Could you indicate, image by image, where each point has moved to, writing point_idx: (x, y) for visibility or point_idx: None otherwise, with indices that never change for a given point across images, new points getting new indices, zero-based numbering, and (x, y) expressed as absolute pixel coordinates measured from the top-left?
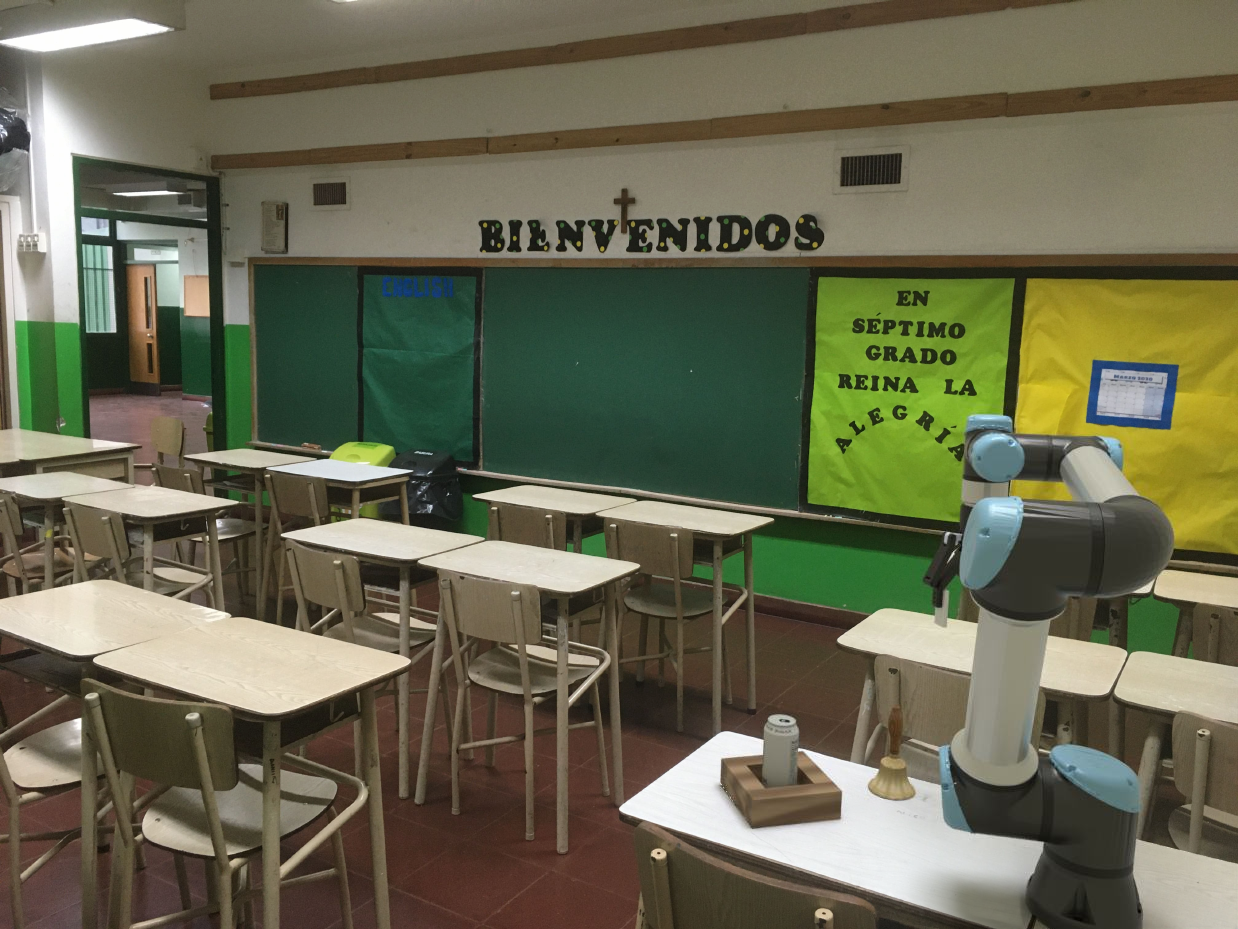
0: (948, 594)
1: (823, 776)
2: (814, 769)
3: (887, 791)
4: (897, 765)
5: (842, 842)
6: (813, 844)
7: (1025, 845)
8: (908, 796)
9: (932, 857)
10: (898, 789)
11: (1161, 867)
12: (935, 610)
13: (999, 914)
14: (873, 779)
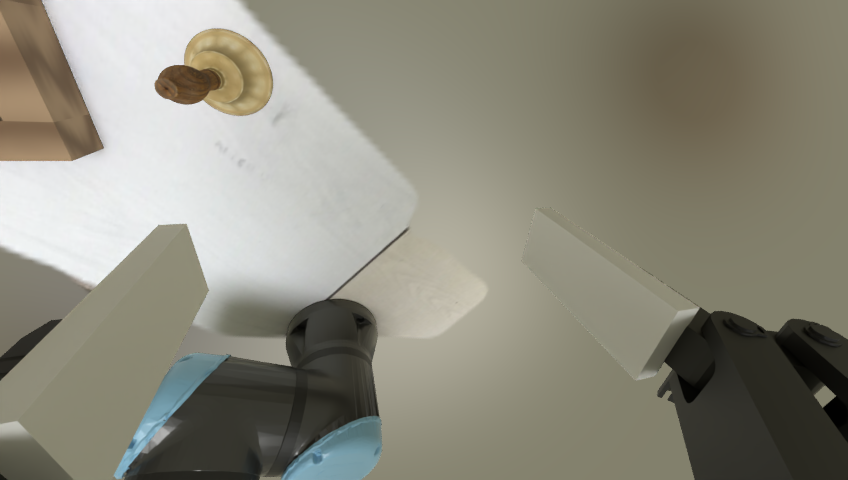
0: (111, 470)
1: (30, 95)
2: (4, 57)
3: (209, 100)
4: (218, 98)
5: (96, 208)
6: (41, 207)
7: (350, 242)
8: (248, 113)
9: (225, 252)
10: (228, 106)
11: (447, 284)
12: (119, 268)
13: (256, 332)
14: (192, 52)
